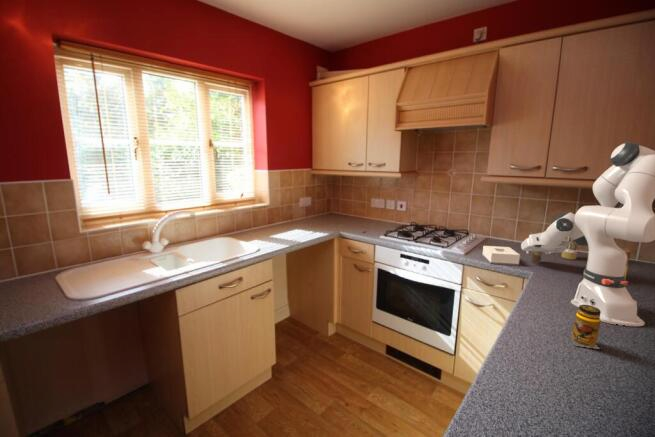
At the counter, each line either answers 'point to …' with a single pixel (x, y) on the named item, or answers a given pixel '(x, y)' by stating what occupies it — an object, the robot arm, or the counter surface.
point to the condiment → (586, 325)
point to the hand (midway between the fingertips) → (537, 252)
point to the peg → (536, 257)
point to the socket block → (501, 255)
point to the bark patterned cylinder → (570, 249)
